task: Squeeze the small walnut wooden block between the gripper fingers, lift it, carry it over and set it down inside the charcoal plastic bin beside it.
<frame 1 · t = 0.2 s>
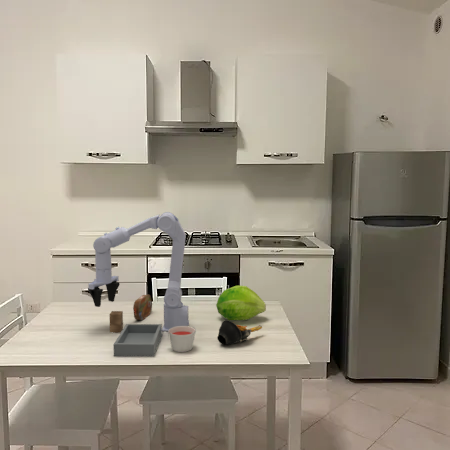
hand: (104, 303, 178), 10 cm above the table, tool pointing down, fingers open, 7 cm apart
block: (116, 330, 177), on the table
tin: (142, 317, 194), on the table
bin: (139, 344, 163), on the table
fried shrimp in bowl: (240, 341, 167), on the table
green papaya: (240, 320, 191), on the table
candle: (182, 349, 160), on the table
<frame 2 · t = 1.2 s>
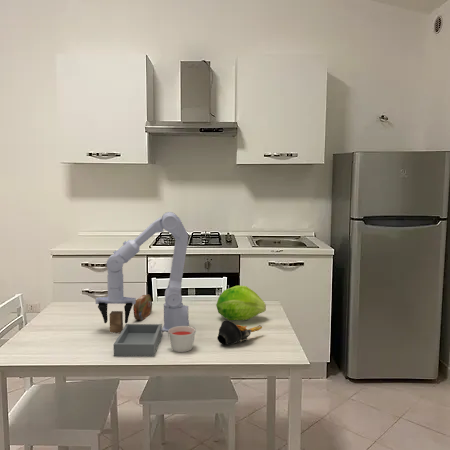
hand: (116, 322, 176), 3 cm above the table, tool pointing down, fingers open, 7 cm apart
nothing on the table moved.
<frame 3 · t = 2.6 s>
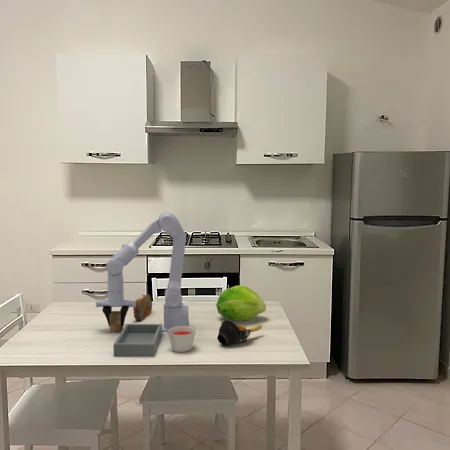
hand: (116, 325, 176), 2 cm above the table, tool pointing down, fingers closed on block, 4 cm apart
block: (116, 330, 177), on the table, touching gripper
everything else where it was.
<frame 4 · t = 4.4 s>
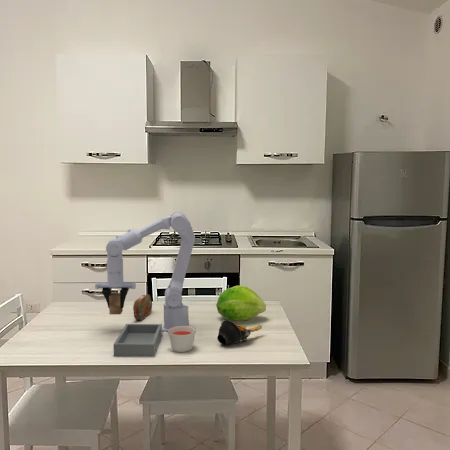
hand: (116, 307, 176), 9 cm above the table, tool pointing down, fingers closed on block, 4 cm apart
block: (116, 312, 176), point 7 cm above the table, touching gripper
everything else where it was.
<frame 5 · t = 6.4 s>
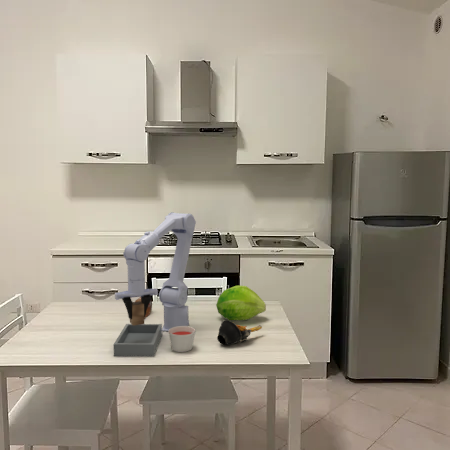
hand: (136, 317, 163), 9 cm above the table, tool pointing down, fingers closed on block, 4 cm apart
block: (137, 323, 163), point 7 cm above the table, touching gripper
everything else where it was.
when the fingers open (4 cm above the table, at t = 8.7 s): block drops 1 cm, resting on bin.
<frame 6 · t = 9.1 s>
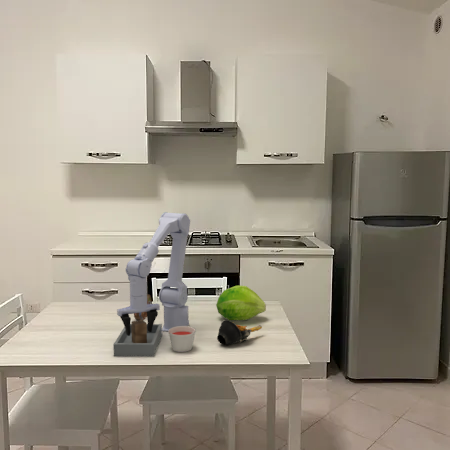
hand: (139, 333, 162), 4 cm above the table, tool pointing down, fingers open, 7 cm apart
block: (139, 342, 163), point 1 cm above the table, touching bin
everything else where it was.
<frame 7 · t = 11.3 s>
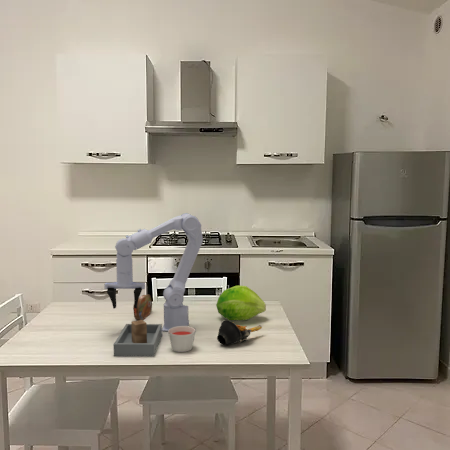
hand: (125, 307, 174), 9 cm above the table, tool pointing down, fingers open, 7 cm apart
nothing on the table moved.
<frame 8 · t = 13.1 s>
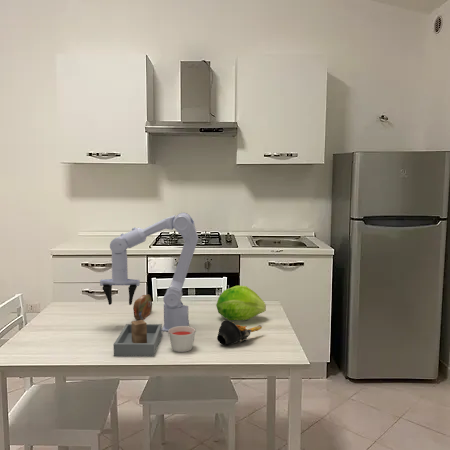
hand: (120, 304, 179), 9 cm above the table, tool pointing down, fingers open, 7 cm apart
nothing on the table moved.
at the end: block inside the target area on the bin (0.0 cm from its centre), point 1.0 cm above the bin's base; the gripper is holding nothing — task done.
